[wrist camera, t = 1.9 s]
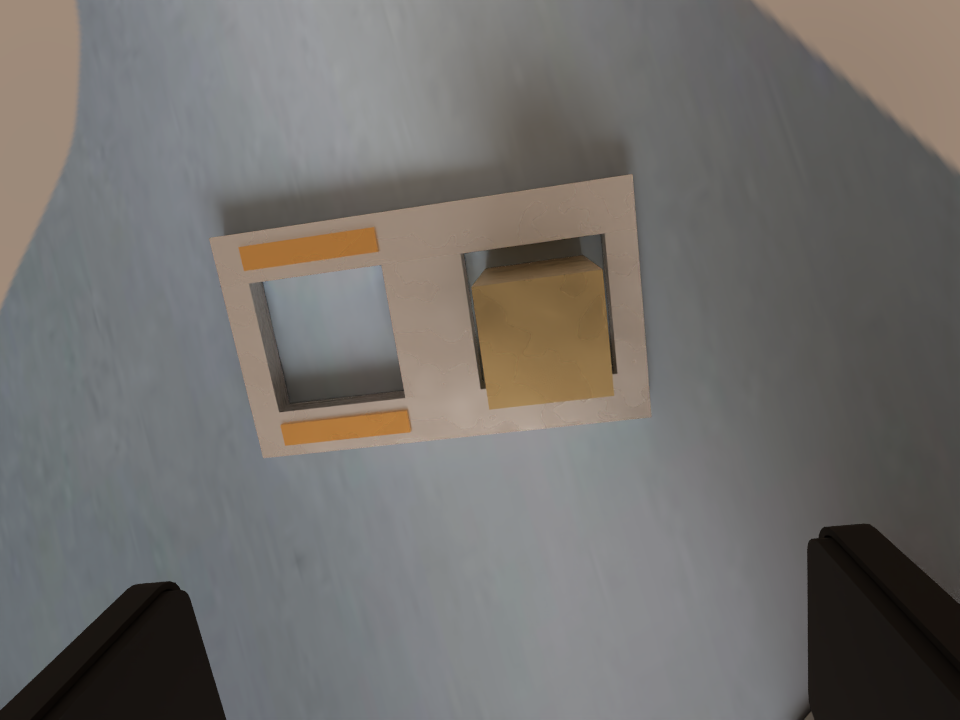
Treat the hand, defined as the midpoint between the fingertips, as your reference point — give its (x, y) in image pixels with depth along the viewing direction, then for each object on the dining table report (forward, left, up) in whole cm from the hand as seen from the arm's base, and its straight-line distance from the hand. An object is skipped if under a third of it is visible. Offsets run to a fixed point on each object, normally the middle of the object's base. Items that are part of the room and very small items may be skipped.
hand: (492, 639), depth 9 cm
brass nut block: (-1, -1, -23) cm, 23 cm away
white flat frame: (+4, -1, -23) cm, 23 cm away
